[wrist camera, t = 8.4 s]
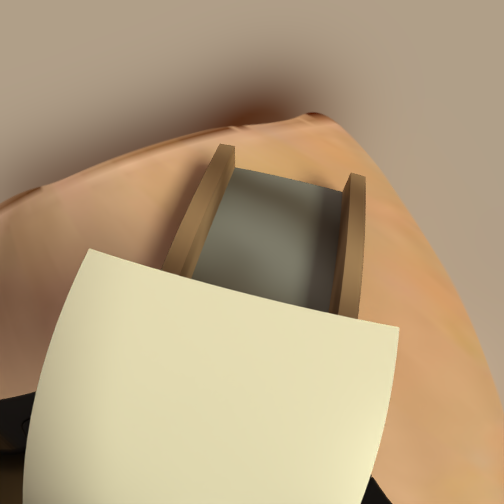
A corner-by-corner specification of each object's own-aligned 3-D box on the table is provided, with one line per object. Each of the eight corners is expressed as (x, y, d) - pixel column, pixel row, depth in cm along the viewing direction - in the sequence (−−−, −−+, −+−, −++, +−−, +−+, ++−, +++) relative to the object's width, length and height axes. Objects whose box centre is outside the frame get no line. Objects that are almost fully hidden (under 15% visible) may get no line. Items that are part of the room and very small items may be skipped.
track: (295, 508, 10) (316, 548, 6) (118, 458, 11) (73, 477, 6) (354, 205, 19) (378, 155, 15) (219, 174, 20) (215, 119, 16)
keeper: (259, 467, 10) (297, 615, 1) (170, 443, 11) (23, 520, 1) (285, 374, 13) (399, 327, 3) (197, 352, 13) (89, 248, 4)
